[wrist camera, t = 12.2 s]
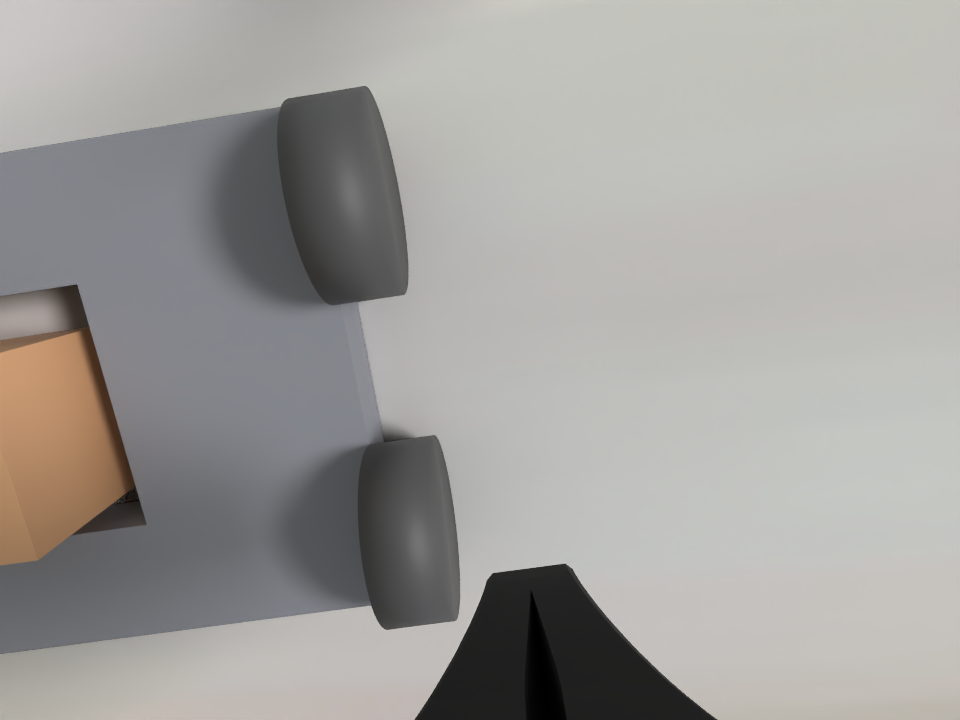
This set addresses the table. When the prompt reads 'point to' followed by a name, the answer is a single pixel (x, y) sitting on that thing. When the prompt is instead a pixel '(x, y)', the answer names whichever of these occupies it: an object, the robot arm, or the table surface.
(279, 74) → the table surface
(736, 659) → the table surface
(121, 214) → the chassis
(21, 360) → the block
